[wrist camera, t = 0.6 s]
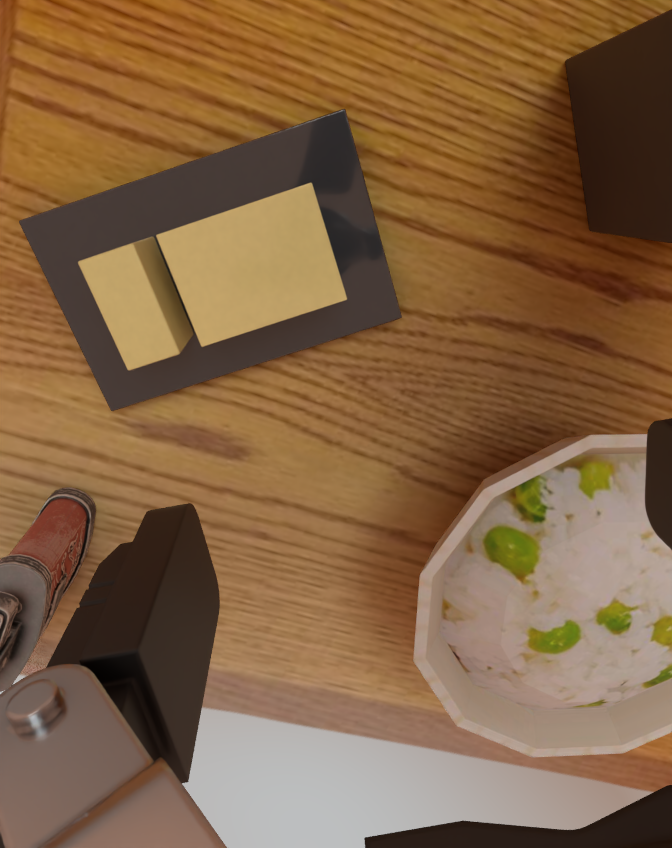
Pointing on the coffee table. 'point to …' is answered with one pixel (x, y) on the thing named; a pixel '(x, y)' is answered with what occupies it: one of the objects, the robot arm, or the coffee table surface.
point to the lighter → (41, 575)
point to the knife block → (626, 130)
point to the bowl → (553, 605)
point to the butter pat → (138, 302)
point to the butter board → (204, 197)
